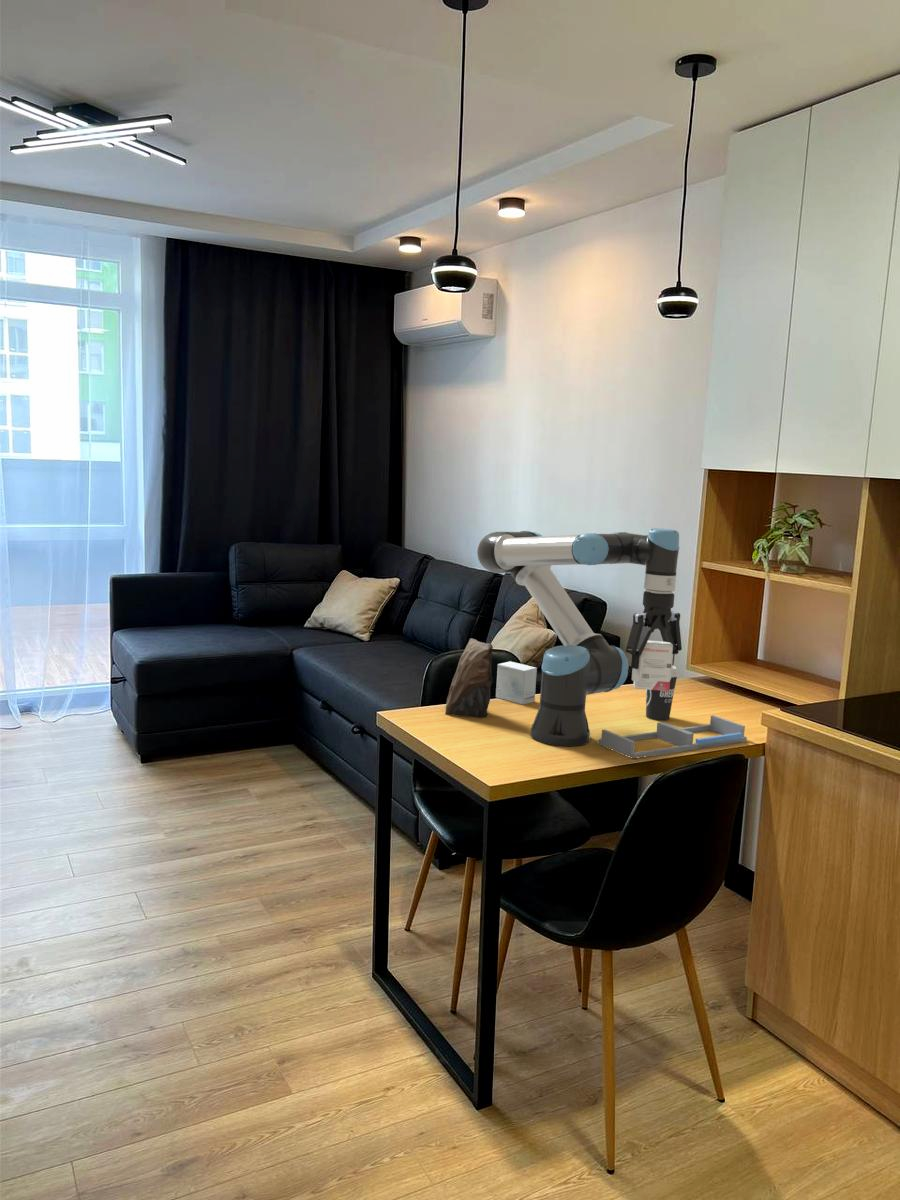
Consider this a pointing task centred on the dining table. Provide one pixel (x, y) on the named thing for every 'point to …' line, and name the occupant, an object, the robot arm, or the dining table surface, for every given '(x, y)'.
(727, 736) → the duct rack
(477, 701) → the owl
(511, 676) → the skincare box
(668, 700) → the coffee cup
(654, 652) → the ink box
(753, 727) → the dining table surface
